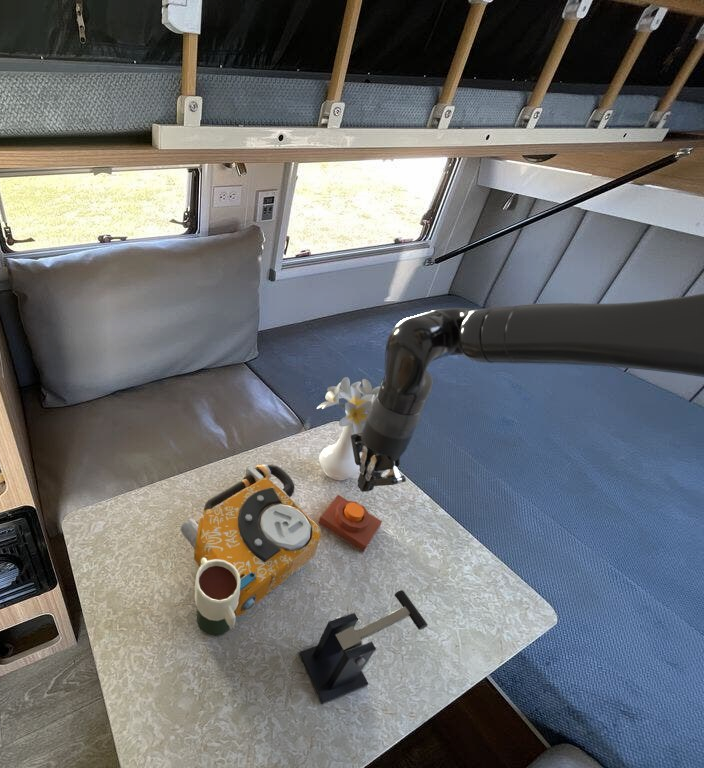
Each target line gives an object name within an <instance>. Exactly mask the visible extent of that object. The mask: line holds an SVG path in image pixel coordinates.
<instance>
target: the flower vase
mask: <svg viewBox="0 0 704 768" xmlns="http://www.w3.org/2000/svg"><path fill="white" fill-rule="evenodd" d="M361 384H362V386H361ZM336 385H337V386H334V385H333V386H328V387H327V389H326V391H327V392H326V394H325V400H326V401H323V402H322V403H320V404H319V405H318V406H317V407H316V410H319V409H321V410H324V409H326V408H328V407H333V406H336V405H338V406H340V407H342V408H344V412H345V413H344V414H345V416H343V417H341V419H340V420H339V422H338V424H339V426H341V427H343V428H342V430H341V433H340V436H339V438H338V440H337V441H336V442H335V443H334V444H329V445H327V446H326V447H324V448H323V449H322V451H321V452H320V454H319V457H318V461H319V464H320V466H321V468H322V469H323V472H324V473H325V475H326V476H327V477H328V478H330V479H332V480H335V481H340V482H341V481H345V480H347V479H351V478H353V477H355V476H356V475H358V474H359V473H360V466H359V465H356V463H355V459H354V453H353V447H352V442H351V435H353V434H357V433H362V430H363V427H364V424H365V422H366V419H367V417H368V414H369V411H370V408H371V406H372V403H373V401H374V400H375V398H376V396H377V394H378V392H379V389H380V386H376V387H374V388H373V386H372V384H371V382H370V381H369V380H368V379H366V378H363V379H361V380H360V381H355V382H353V383H352V384H351V381H350V378H349V377H348V376H346V377H343V378H342V379H341V381H340V382H339V383H338V384H336ZM361 394H362V395H361ZM340 399H344V400H345V401H347V402H345V403H344V404H343V403H341V402H340Z"/></svg>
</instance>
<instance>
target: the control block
mask: <svg viewBox="0 0 704 768" xmlns="http://www.w3.org/2000/svg"><path fill="white" fill-rule="evenodd" d="M348 503H357V504H359V505H360V506H361V507H362V508H363V509H364V515H363V517H362V520H361V521H359V522H352V521H350V520H348V519H347V518H346V517H345V515H344V510H345V508H346V505H347V504H348ZM382 523H383V520H381V519H380V518H378V517H376V516H374V515H373V514H371V513H370V512H369V511H368V510H367V509H366V507H365V506H364V505H362V504H360V503H359V502H357V501H353V500H348V499H346V498H345V497H343V496H341V495H339V494H337V495H336V496H335V497H334V499H333V500H332V501H331V502H330V504H329V505H328V506H327V507H326V509H325V510H324V511H323V513H322V514H321V515H320V517H319V520H318V524H319V525H321V526H322V527H324V528H325V529H327V530H328V531H329V532H330V533H333V534H334V535H336V536H337V537H339V538H341V539H342V540H343V541H345V542H347V543H348V544H349V545H351V546H352V547H353V548H355V549H357V550H358V551H359V552H362V553H365V551H366V550H367V548H368V546H369V545H370V543H371V541H373V538H374V537H375V535H376V533H377V532H378V530H379V529H380V527H381V525H382Z"/></svg>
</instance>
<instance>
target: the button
mask: <svg viewBox="0 0 704 768" xmlns="http://www.w3.org/2000/svg"><path fill="white" fill-rule="evenodd" d="M357 503H358V502H357ZM357 503H348V504H347V505H346V508H345V510H344V515H345V517H346V518H347V519H348V520H350V521H352V522H359V521H361V520H362V517H363V515H364V509H363V508H362V507H361V506H360V505H361V504H360V503H359V504H360V505H359V504H357Z"/></svg>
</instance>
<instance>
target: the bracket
mask: <svg viewBox="0 0 704 768" xmlns="http://www.w3.org/2000/svg"><path fill="white" fill-rule="evenodd" d="M358 621H359V618H358V616H357V614H356V612H351V613H349V614H347V615H346V614H345V615H343V616H337V617H335V618H334V619H332V620H329V621H328V622H327V624H326V626H325V627H324V630H323V632H322V635H321V637H320V638H319V641H318V643H317V645H314V646H311V647H309V648H306V649H303V650H300V651H299V653H298V656H299V658H300V661H301V663H302V665H303V667H304V669H305V671H306V673H307V676H308V678H309V680H310V682H311V684H312V687H313V689H314V691H315V693H316V695H317V698H318V700H319V702H320V705H325V704H328V703H330V702H332V701H335V700H338V699H339V698H343V697H345V696H347V695H350V694H352V693H354V692H357V691H360V690H362V689H365V688H367V687H368V685H369V682H368V680H367V678H366V676H365V674H364V672H363V671H362V670H364V668H365V667H366V665H367V664H368V662H369V660H370V659H371V657H372V656H373V655H374V653H375V652H376V650H377V648H376V646H375V644H374V643H373V641H369V642H366V643H362V645H361V646H358V647H355V648H353V649H350V650H347V651H345V652H343V650H342V649H341V647H340V645H339V643H338V641H337V639H336V636H335V634H337V633H339V632H341V631H343V630H345V629H347V628H349V627H351V626H353V628H354V629H355V626H356V624H357V623H358Z"/></svg>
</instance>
